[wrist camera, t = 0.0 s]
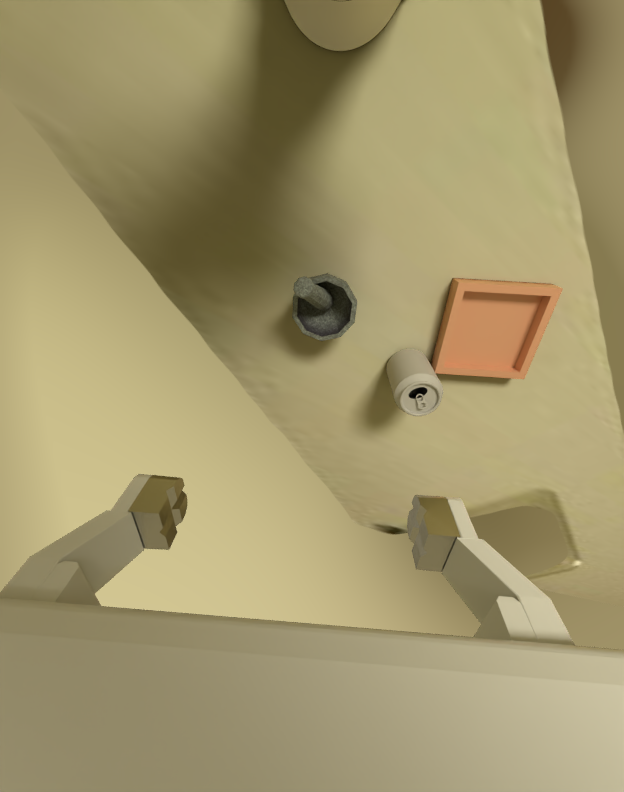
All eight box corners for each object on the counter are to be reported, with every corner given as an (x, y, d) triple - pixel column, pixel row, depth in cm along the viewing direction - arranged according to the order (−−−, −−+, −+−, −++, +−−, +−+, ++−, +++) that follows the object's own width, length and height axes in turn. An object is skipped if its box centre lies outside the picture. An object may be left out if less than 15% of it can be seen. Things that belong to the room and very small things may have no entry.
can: (420, 339, 59) (438, 371, 49) (432, 374, 62) (452, 410, 52) (379, 356, 61) (388, 389, 51) (393, 389, 64) (405, 426, 54)
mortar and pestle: (364, 308, 56) (371, 334, 46) (316, 335, 59) (313, 365, 49) (330, 246, 52) (329, 260, 42) (280, 279, 55) (268, 299, 45)
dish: (452, 278, 53) (458, 282, 51) (551, 283, 53) (562, 288, 50) (430, 365, 61) (434, 373, 59) (516, 371, 61) (524, 379, 58)
